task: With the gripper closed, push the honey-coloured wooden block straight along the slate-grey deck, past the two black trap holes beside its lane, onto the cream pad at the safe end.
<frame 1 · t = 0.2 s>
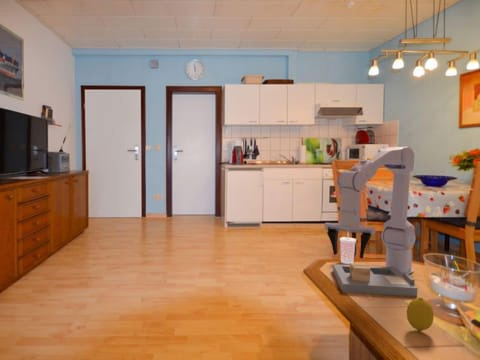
hand: (348, 255, 110), 10 cm above the table, tool pointing down, fingers open, 7 cm apart
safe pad: (397, 280, 111), resting on deck
deck: (370, 282, 116), on the table
beverage cup: (347, 262, 139), on the table
block: (359, 278, 113), point 2 cm above the table, touching deck
lemon: (419, 332, 84), on the table
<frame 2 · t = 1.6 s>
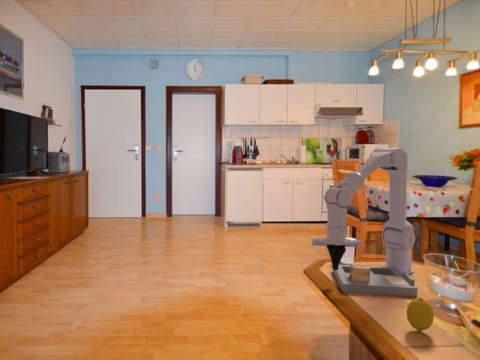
hand: (335, 269, 113), 5 cm above the table, tool pointing down, fingers closed
nothing on the table moved.
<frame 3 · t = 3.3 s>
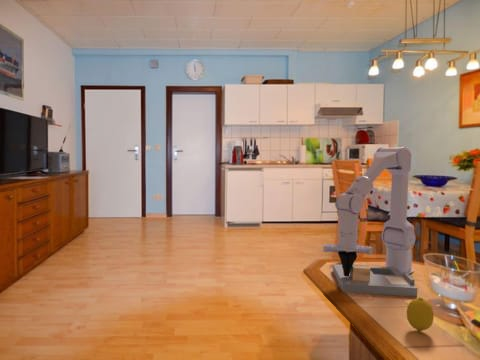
hand: (346, 275, 113), 3 cm above the table, tool pointing down, fingers closed
block: (359, 278, 113), point 3 cm above the table, touching deck, gripper
everything else where it was.
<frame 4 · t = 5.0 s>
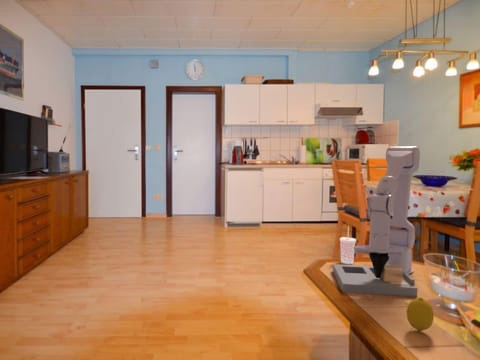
hand: (377, 277, 112), 3 cm above the table, tool pointing down, fingers closed
block: (390, 279, 112), point 3 cm above the table, touching gripper, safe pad
everything else where it was.
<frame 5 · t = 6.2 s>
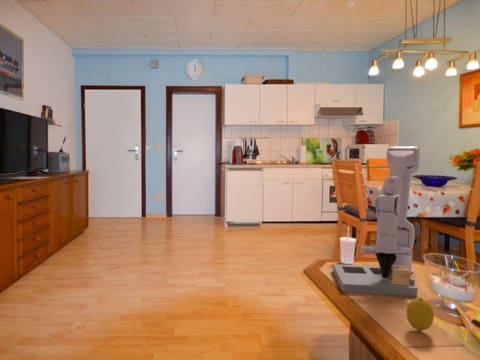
hand: (384, 277, 112), 3 cm above the table, tool pointing down, fingers closed
block: (398, 280, 111), point 3 cm above the table, touching deck, gripper, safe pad
everything else where it was.
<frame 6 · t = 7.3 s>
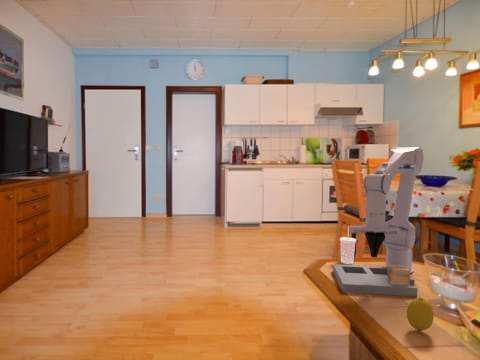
hand: (373, 256, 112), 9 cm above the table, tool pointing down, fingers closed
block: (398, 280, 111), point 3 cm above the table, touching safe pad
everything else where it was.
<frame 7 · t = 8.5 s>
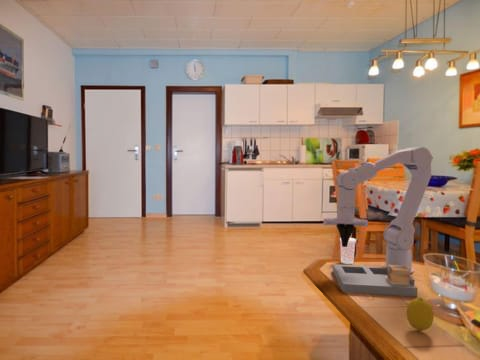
hand: (344, 246, 125), 9 cm above the table, tool pointing down, fingers closed
nothing on the table moved.
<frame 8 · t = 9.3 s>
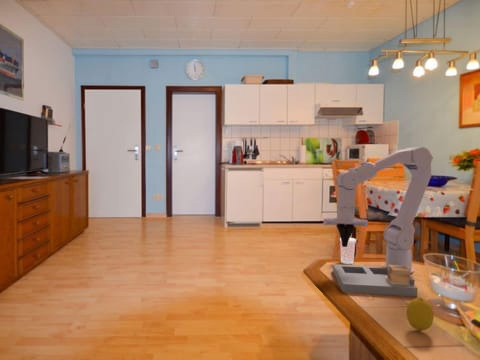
hand: (344, 246, 125), 9 cm above the table, tool pointing down, fingers closed
nothing on the table moved.
at the end: block 0.3 cm from the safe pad (horizontally); block point 2.5 cm above the table; block tilted 0° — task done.
